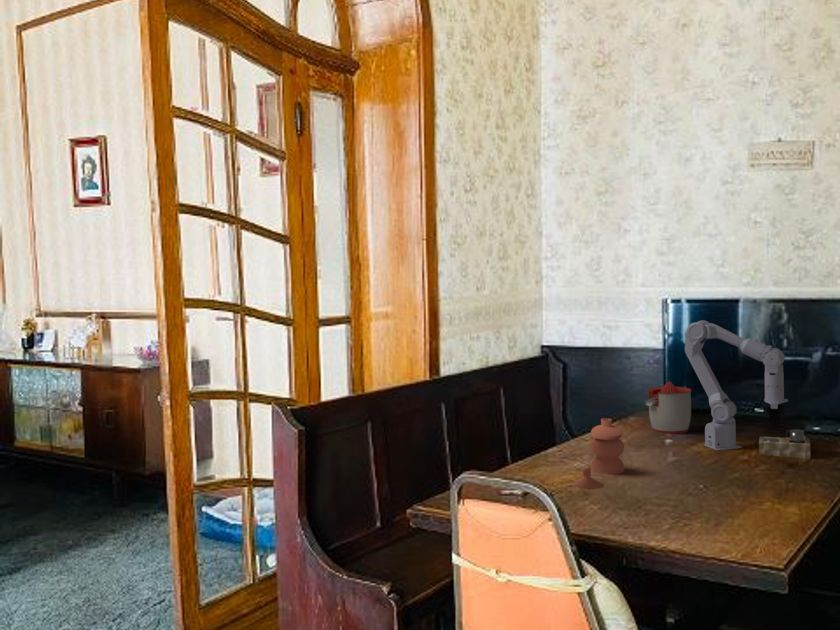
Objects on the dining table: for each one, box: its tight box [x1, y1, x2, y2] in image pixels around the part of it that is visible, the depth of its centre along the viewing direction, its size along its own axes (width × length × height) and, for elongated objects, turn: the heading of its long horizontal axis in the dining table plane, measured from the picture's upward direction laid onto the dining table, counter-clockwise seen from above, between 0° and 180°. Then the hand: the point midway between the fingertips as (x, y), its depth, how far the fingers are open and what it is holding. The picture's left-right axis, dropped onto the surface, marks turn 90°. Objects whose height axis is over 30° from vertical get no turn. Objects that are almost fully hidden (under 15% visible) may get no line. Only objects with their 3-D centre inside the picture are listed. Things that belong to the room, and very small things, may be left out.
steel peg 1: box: [765, 439, 778, 442], centre depth 258 cm, size 4×4×5 cm
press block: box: [758, 436, 811, 460], centre depth 256 cm, size 15×9×5 cm, turn 65°
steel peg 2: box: [789, 429, 805, 443], centre depth 254 cm, size 4×4×5 cm
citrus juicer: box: [645, 381, 692, 435], centre depth 293 cm, size 16×17×20 cm
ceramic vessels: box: [572, 418, 626, 490], centre depth 223 cm, size 35×21×19 cm, turn 150°
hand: (774, 426), depth 257 cm, fingers closed
